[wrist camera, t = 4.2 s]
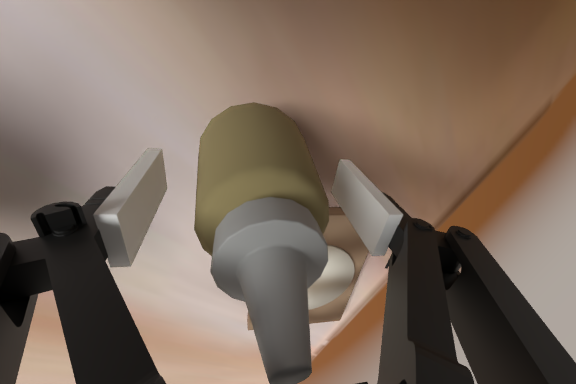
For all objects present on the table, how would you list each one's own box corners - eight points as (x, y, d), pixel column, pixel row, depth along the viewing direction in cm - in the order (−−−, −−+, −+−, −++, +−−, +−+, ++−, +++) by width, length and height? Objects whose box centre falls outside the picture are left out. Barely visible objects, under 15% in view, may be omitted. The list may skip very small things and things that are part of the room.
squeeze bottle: (221, 74, 18) (159, 222, 3) (311, 117, 21) (496, 299, 6) (191, 164, 21) (90, 450, 6) (273, 191, 25) (334, 427, 9)
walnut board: (257, 206, 25) (258, 217, 24) (376, 207, 28) (385, 217, 27) (247, 319, 35) (247, 333, 34) (336, 311, 38) (340, 322, 37)
